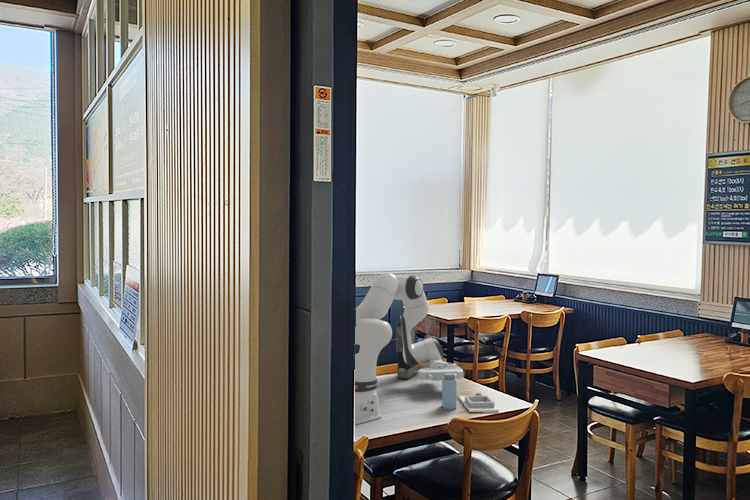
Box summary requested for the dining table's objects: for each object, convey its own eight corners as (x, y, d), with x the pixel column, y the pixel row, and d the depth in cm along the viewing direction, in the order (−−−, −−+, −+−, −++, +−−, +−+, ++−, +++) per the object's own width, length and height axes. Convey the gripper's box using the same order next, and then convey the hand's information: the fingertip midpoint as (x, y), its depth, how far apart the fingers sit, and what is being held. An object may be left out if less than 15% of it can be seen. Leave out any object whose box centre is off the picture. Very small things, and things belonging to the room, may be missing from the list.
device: (408, 380, 282) (408, 320, 281) (394, 378, 285) (394, 319, 284) (418, 373, 295) (418, 316, 294) (404, 372, 298) (404, 315, 297)
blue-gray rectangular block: (456, 408, 238) (456, 375, 237) (444, 409, 237) (444, 375, 237) (453, 405, 243) (453, 372, 242) (442, 405, 242) (442, 372, 242)
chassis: (498, 412, 233) (498, 404, 233) (469, 413, 232) (469, 405, 232) (485, 398, 253) (485, 390, 253) (458, 398, 252) (458, 391, 252)
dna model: (414, 373, 295) (415, 316, 294) (423, 370, 302) (423, 313, 301) (430, 376, 290) (430, 317, 289) (438, 372, 297) (438, 315, 296)
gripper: (415, 364, 265) (420, 371, 251) (459, 363, 266) (466, 370, 253) (415, 377, 265) (420, 386, 251) (459, 376, 267) (466, 384, 253)
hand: (443, 378), depth 252 cm, fingers open, 8 cm apart
